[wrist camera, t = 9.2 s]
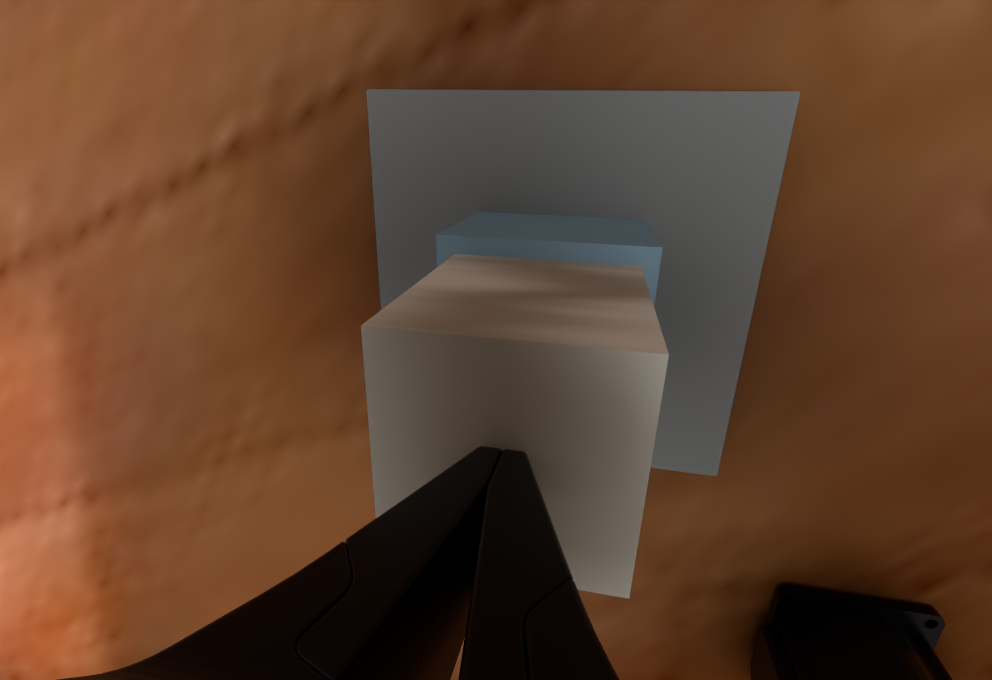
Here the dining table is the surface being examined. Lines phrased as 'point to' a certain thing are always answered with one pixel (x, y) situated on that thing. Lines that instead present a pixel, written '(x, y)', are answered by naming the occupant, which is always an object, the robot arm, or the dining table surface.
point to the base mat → (603, 208)
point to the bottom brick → (556, 240)
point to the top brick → (525, 393)
